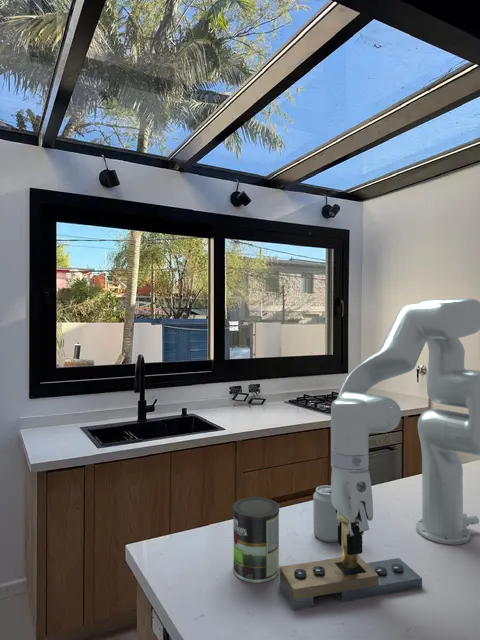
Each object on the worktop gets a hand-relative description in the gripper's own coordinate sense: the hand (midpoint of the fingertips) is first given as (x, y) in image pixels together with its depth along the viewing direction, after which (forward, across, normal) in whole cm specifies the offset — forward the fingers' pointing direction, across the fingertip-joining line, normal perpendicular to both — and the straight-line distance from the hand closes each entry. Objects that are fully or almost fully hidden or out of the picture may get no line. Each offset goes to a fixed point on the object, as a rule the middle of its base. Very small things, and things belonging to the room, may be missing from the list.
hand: (349, 548), depth 91 cm
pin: (+3, 0, 0) cm, 3 cm away
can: (+8, +21, -5) cm, 23 cm away
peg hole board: (+8, 0, 0) cm, 8 cm away
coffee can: (+8, +11, +17) cm, 22 cm away
